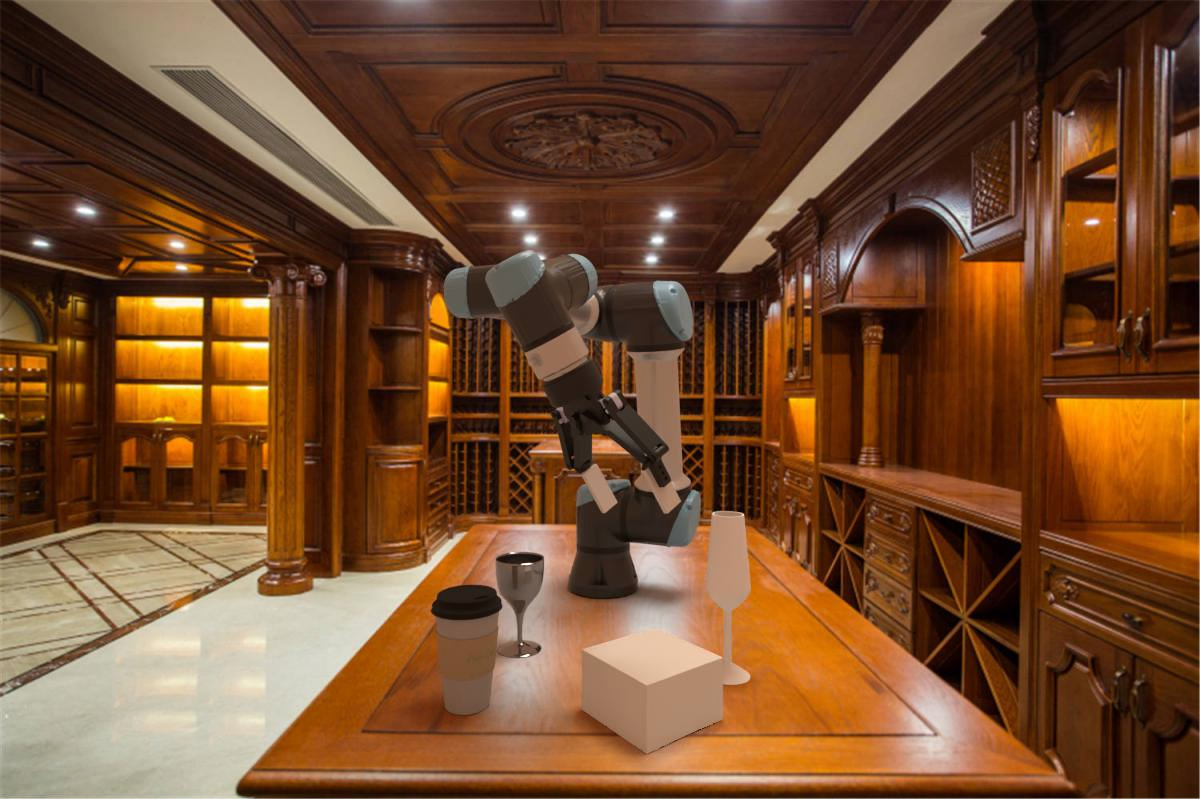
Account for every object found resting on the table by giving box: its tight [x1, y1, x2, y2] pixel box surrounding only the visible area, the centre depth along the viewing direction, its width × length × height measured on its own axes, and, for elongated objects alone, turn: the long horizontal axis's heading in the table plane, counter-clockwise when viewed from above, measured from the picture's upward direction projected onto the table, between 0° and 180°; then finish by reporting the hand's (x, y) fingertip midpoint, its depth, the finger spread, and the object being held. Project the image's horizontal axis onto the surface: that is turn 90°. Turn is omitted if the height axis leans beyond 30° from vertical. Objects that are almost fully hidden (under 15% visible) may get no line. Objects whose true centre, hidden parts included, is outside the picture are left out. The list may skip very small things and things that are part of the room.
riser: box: [581, 627, 724, 755], centre depth 82 cm, size 13×13×8 cm
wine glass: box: [494, 551, 545, 659], centre depth 103 cm, size 8×8×15 cm
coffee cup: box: [430, 584, 503, 716], centre depth 85 cm, size 9×9×15 cm
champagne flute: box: [704, 510, 752, 686], centre depth 94 cm, size 7×7×24 cm
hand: (639, 507), depth 85 cm, fingers open, 13 cm apart
